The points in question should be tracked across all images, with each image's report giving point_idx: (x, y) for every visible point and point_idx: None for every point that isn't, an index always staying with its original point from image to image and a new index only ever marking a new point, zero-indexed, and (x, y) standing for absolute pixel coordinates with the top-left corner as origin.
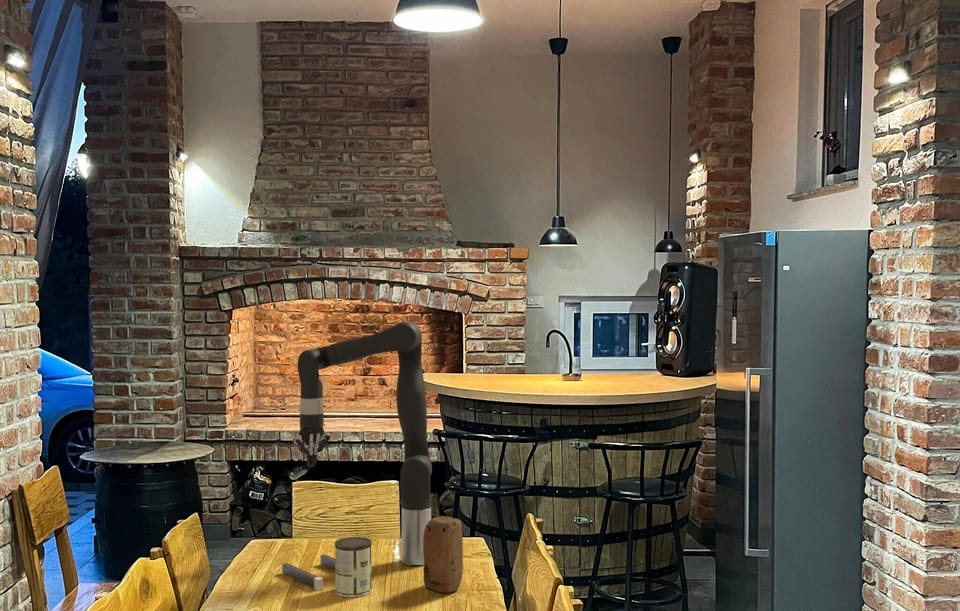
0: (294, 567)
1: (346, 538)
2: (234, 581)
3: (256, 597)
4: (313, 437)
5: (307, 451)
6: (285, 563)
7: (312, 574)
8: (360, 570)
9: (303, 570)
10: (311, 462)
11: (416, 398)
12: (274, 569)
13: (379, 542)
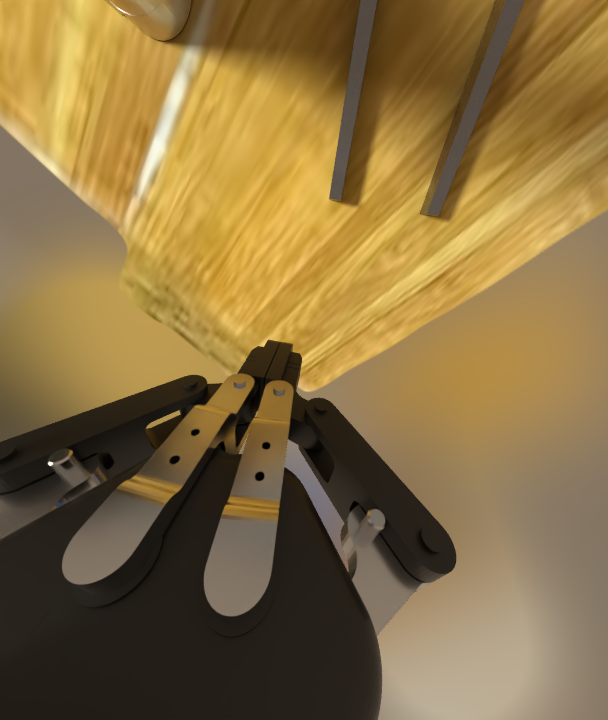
0: (452, 160)
1: None
2: (513, 253)
3: None
4: (198, 525)
5: (311, 408)
6: (432, 212)
7: (495, 31)
8: None
9: (467, 107)
10: (289, 353)
11: None
12: (412, 256)
13: (166, 238)
